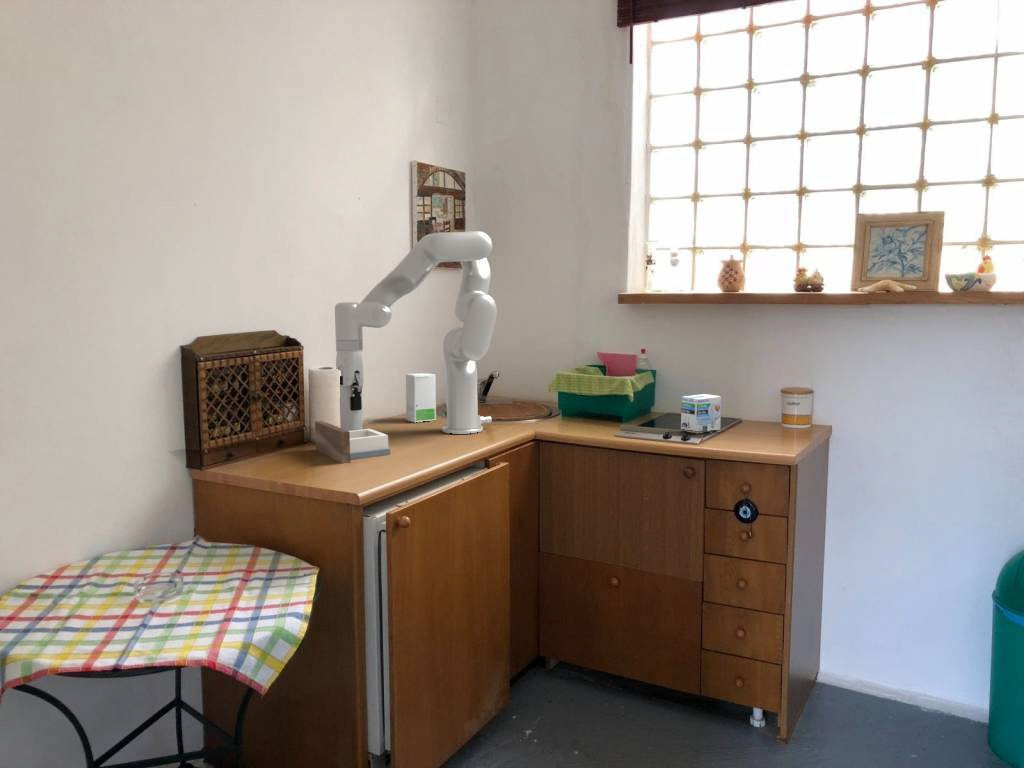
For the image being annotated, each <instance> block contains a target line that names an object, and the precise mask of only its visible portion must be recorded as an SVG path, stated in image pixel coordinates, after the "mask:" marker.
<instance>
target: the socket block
mask: <svg viewBox="0 0 1024 768" xmlns="http://www.w3.org/2000/svg"><path fill="white" fill-rule="evenodd" d="M349 434H350V461H351V460H358V459H366V458H372V457H373V458H374V457H381V456H389V455H391V449H390V448H389V435H388V434H386V433H383V432H380V431H379V430H375V429H373V428H363V429H362V430H353V431H349Z"/></svg>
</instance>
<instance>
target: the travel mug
mask: <svg viewBox="0 0 1024 768" xmlns="http://www.w3.org/2000/svg"><path fill="white" fill-rule="evenodd" d="M352 385H357V383H353V384H352ZM339 387H340V398H339V418H340V419H339V421H340V422H339V425H340V427H339V428H341V429H344V430H346V431H353V430H362V429H364V428H363V427H364V422H363V421H364V420H363V408H362V409H361V410H356V411H351V410H350V397H352V396H351V391H350V386H349V387H345V386H343V376H340V386H339ZM353 389H354V390H355V388H353ZM362 397H363V396H361V399H362V400H363V398H362Z"/></svg>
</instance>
